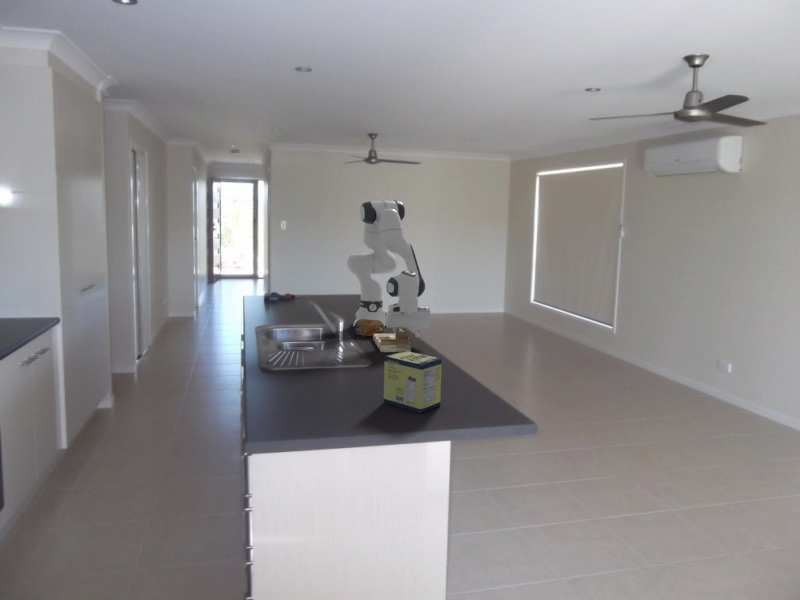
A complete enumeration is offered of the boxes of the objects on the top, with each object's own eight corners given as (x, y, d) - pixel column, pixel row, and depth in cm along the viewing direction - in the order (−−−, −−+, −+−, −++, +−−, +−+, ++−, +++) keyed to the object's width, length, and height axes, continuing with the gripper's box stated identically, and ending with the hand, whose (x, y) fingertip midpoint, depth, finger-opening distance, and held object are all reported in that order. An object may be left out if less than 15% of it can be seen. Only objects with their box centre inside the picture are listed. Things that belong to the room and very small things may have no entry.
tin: (354, 335, 287) (354, 318, 285) (356, 334, 290) (356, 317, 288) (383, 338, 282) (383, 321, 281) (385, 337, 285) (385, 320, 284)
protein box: (402, 395, 195) (404, 349, 192) (441, 406, 185) (443, 358, 183) (382, 402, 187) (383, 355, 184) (421, 414, 177) (422, 364, 175)
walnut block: (395, 341, 262) (395, 332, 261) (405, 341, 263) (405, 331, 262) (397, 343, 257) (398, 334, 257) (407, 343, 258) (407, 333, 258)
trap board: (373, 340, 277) (373, 328, 276) (400, 339, 280) (400, 328, 279) (381, 352, 254) (381, 339, 253) (410, 351, 256) (411, 339, 256)
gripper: (428, 305, 269) (427, 335, 271) (384, 305, 265) (384, 335, 267) (432, 308, 263) (430, 338, 265) (387, 308, 259) (386, 338, 261)
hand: (407, 337), depth 266 cm, fingers open, 8 cm apart
